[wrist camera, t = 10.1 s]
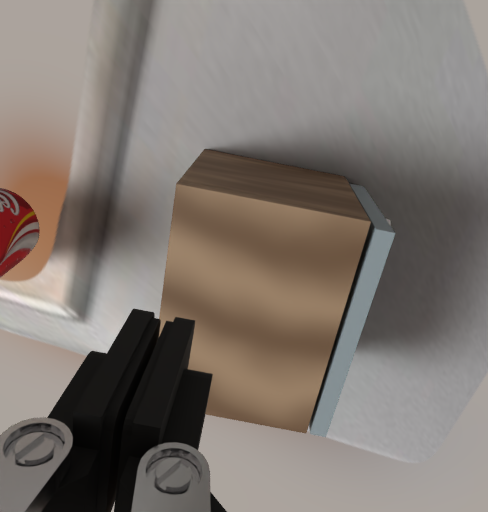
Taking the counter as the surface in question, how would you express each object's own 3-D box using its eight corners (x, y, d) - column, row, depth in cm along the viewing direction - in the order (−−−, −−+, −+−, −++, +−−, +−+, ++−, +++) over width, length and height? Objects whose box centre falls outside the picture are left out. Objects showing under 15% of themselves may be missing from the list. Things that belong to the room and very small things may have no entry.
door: (349, 183, 39) (376, 229, 28) (375, 188, 39) (411, 236, 29) (301, 350, 46) (308, 438, 35) (323, 355, 46) (337, 444, 35)
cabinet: (204, 148, 39) (176, 183, 28) (344, 176, 39) (371, 221, 28) (179, 320, 46) (148, 403, 35) (299, 343, 46) (306, 433, 35)
